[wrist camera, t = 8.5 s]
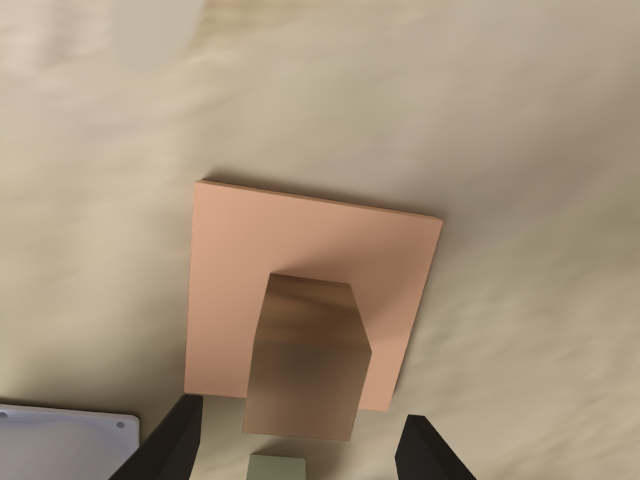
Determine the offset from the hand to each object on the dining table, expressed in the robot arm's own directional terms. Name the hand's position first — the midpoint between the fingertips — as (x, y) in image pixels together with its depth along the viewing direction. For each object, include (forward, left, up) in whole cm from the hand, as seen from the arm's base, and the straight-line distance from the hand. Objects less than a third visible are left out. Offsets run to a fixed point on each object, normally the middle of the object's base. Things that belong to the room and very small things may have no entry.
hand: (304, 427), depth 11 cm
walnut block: (0, 0, -8) cm, 8 cm away
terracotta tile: (0, 0, -9) cm, 9 cm away
